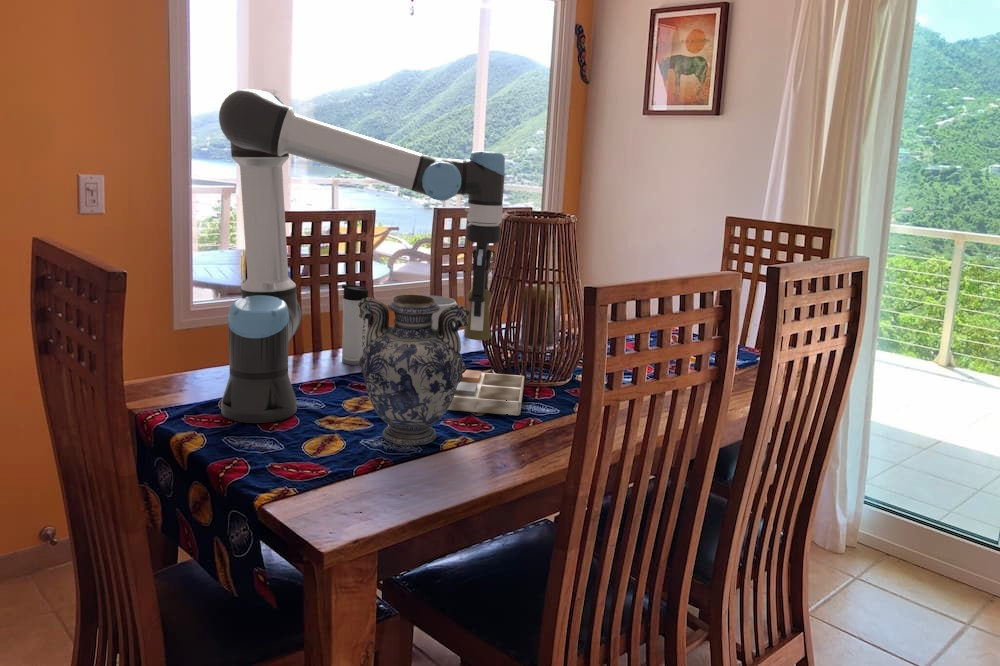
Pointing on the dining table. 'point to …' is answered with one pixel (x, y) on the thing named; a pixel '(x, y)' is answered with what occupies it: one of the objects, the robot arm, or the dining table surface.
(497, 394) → the socket board
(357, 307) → the travel mug
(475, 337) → the cork
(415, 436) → the decorative vase
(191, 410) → the dining table surface
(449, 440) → the dining table surface
